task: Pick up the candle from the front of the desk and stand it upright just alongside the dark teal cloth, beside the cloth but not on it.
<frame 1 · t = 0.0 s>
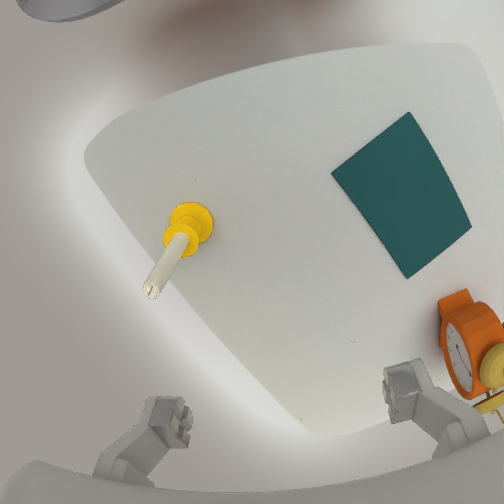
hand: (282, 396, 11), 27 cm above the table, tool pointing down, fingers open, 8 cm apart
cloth: (411, 201, 34), on the table
candle: (192, 222, 37), on the table
alarm clock: (451, 318, 42), on the table
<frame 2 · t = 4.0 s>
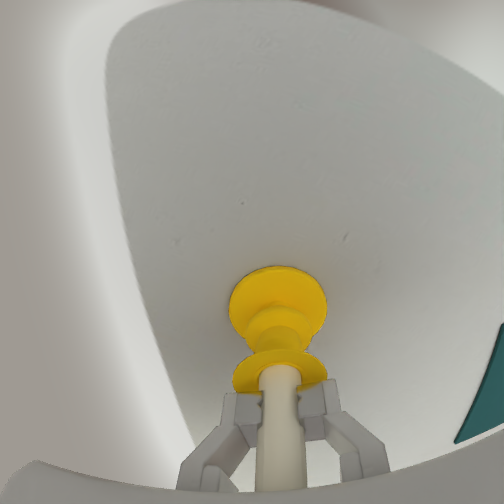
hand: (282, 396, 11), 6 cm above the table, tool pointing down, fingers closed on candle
candle: (277, 305, 17), on the table, touching gripper
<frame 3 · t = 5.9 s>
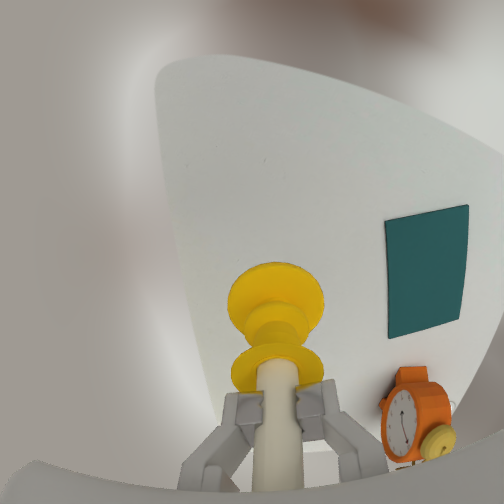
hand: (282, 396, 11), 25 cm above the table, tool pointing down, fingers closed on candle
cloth: (428, 276, 37), on the table
candle: (275, 301, 17), point 18 cm above the table, touching gripper
alarm clock: (400, 386, 46), on the table
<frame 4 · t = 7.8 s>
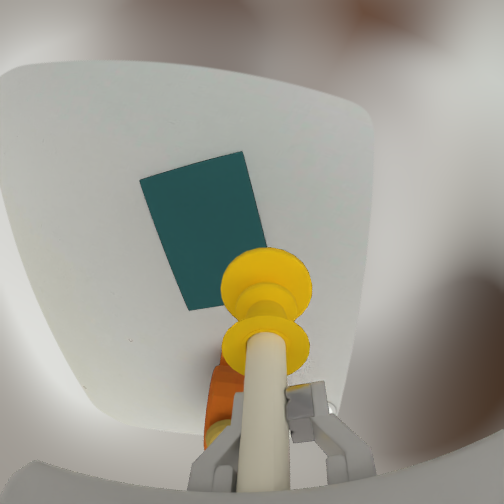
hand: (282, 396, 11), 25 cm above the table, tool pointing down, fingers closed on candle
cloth: (211, 239, 37), on the table
candle: (266, 286, 18), point 18 cm above the table, touching gripper
alarm clock: (237, 370, 46), on the table
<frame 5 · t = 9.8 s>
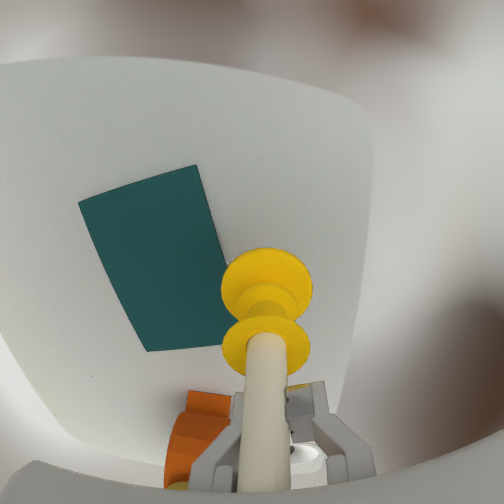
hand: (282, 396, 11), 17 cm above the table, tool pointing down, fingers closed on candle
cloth: (164, 274, 29), on the table
candle: (266, 286, 18), point 9 cm above the table, touching gripper
alarm clock: (208, 413, 39), on the table
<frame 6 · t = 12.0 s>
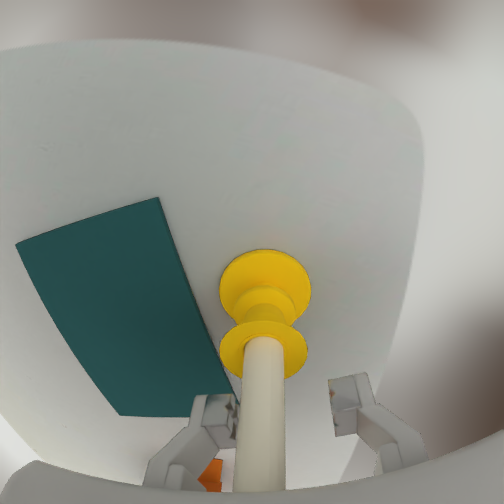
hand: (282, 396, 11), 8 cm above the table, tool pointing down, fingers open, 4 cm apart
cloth: (129, 338, 21), on the table
candle: (265, 287, 18), on the table
alarm clock: (197, 471, 30), on the table
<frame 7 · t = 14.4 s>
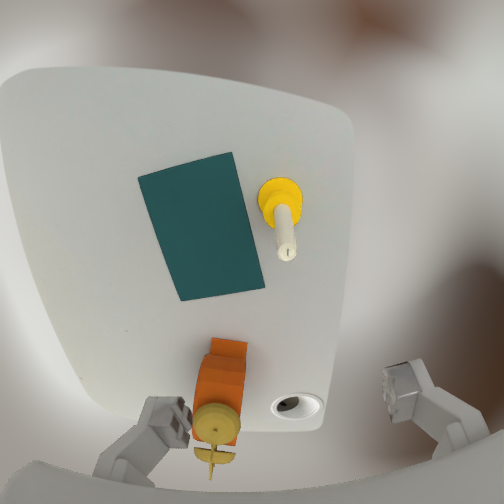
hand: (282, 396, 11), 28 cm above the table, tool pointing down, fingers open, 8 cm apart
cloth: (202, 233, 39), on the table
candle: (280, 198, 37), on the table
alarm clock: (226, 361, 49), on the table
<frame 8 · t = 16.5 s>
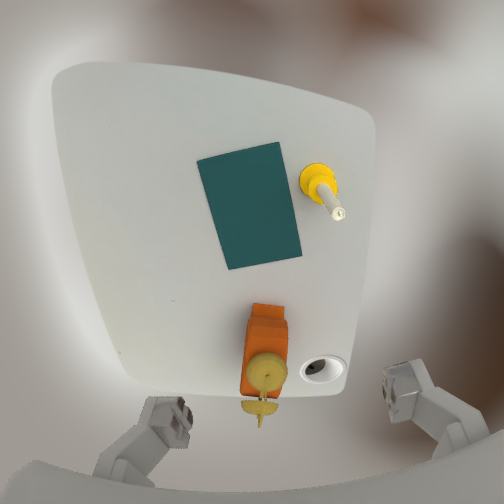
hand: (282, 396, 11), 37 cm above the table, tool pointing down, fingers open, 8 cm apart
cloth: (252, 209, 47), on the table
candle: (316, 180, 45), on the table
alarm clock: (264, 326, 57), on the table
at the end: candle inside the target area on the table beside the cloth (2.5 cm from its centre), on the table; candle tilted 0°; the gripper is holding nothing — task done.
